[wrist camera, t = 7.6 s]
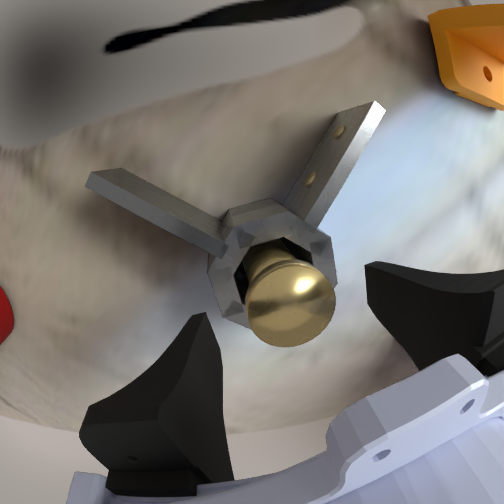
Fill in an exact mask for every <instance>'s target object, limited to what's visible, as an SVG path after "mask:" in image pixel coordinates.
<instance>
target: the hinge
mask: <svg viewBox="0 0 504 504" xmlns="http://www.w3.org/2000/svg"><path fill="white" fill-rule="evenodd" d="M385 111H386V110H385V109H384V108H382V107H381V106H380V105H379V104H378V103H377V102H375V101H374V102H370V103H367V104H363V105H360V106H357V107H354V108H351V109H347V110H344V111H341V112H338V114H337V116H336V117H335V119H334V121H333V122H332V124H331V126H330V127H329V129H328V131H327V132H326V134H325V136H324V137H323V139H322V140H321V142H320V144H319V145H318V147H317V149H316V150H315V152H314V154H313V155H312V157H311V159H310V160H309V162H308V164H307V165H306V167H305V169H304V170H303V172H302V173H301V175H300V177H299V178H298V180H297V182H296V183H295V185H294V187H293V188H292V190H291V192H290V193H289V195H288V197H287V198H286V200H285V201H284V203H283V205H281V204H279V203H277V202H276V201H274V200H273V199H271V198H268V199H264V200H261V201H257V202H253V203H249V204H246V205H242V206H238V207H235V208H231V209H229V211H228V212H227V214H226V216H225V218H224V219H223V221H220V220H218V219H216V218H214V217H213V216H211V215H209V214H207V213H205V212H203V211H201V210H200V209H198V208H196V207H194V206H192V205H190V204H188V203H186V202H185V201H183V200H181V199H179V198H177V197H175V196H173V195H171V194H170V193H168V192H166V191H164V190H162V189H160V188H158V187H156V186H155V185H153V184H151V183H149V182H147V181H145V180H143V179H141V178H139V177H137V176H136V175H134V174H132V173H130V172H128V171H126V170H124V169H122V168H117V169H109V170H101V171H94V172H91V173H90V175H89V178H88V180H87V182H86V185H85V187H87V188H89V189H90V190H92V191H94V192H96V193H98V194H99V195H101V196H103V197H105V198H107V199H109V200H110V201H112V202H114V203H116V204H118V205H120V206H122V207H123V208H125V209H127V210H129V211H131V212H133V213H135V214H136V215H138V216H140V217H142V218H144V219H146V220H148V221H149V222H151V223H153V224H155V225H157V226H159V227H161V228H163V229H165V230H166V231H168V232H170V233H172V234H174V235H176V236H178V237H180V238H182V239H184V240H185V241H187V242H189V243H191V244H193V245H195V246H197V247H199V248H201V249H203V250H205V251H207V252H209V253H208V268H207V273H208V276H209V279H210V281H211V284H212V287H213V290H214V293H215V296H216V299H217V302H218V305H219V307H220V310H221V313H222V317H223V318H226V319H228V320H230V321H233V322H235V323H237V324H240V325H242V326H244V327H246V328H249V329H251V327H250V324H249V321H248V317H247V313H246V308H245V297H246V293H247V290H248V287H249V282H248V278H247V275H245V274H243V273H241V272H239V271H237V270H236V269H237V267H238V266H239V264H240V262H241V261H242V259H243V257H244V256H245V254H246V252H247V251H248V249H249V248H250V246H253V245H256V244H260V243H264V242H267V241H271V240H274V239H278V238H281V237H285V238H287V239H289V240H290V241H291V244H292V249H293V256H294V257H295V258H296V259H297V260H301V261H305V262H308V263H310V264H312V265H313V266H315V267H316V268H317V269H318V270H319V271H320V272H321V273H322V274H323V275H324V276H325V277H326V278H327V279H328V281H329V282H330V283H331V285H332V287H333V289H334V288H335V286H336V285H337V284H338V282H337V276H336V269H335V262H334V255H333V249H332V242H331V237H330V236H328V235H327V234H326V233H324V232H323V231H321V230H320V229H319V228H317V227H318V226H319V224H320V222H321V221H322V219H323V217H324V216H325V214H326V213H327V211H328V209H329V208H330V206H331V204H332V203H333V201H334V199H335V198H336V196H337V194H338V193H339V191H340V189H341V188H342V186H343V184H344V183H345V181H346V179H347V178H348V176H349V174H350V172H351V171H352V169H353V167H354V166H355V164H356V162H357V160H358V159H359V157H360V155H361V154H362V152H363V150H364V148H365V147H366V145H367V143H368V141H369V139H370V138H371V136H372V134H373V132H374V131H375V129H376V127H377V125H378V123H379V122H380V120H381V118H382V116H383V114H384V112H385ZM251 330H252V329H251Z"/></svg>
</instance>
